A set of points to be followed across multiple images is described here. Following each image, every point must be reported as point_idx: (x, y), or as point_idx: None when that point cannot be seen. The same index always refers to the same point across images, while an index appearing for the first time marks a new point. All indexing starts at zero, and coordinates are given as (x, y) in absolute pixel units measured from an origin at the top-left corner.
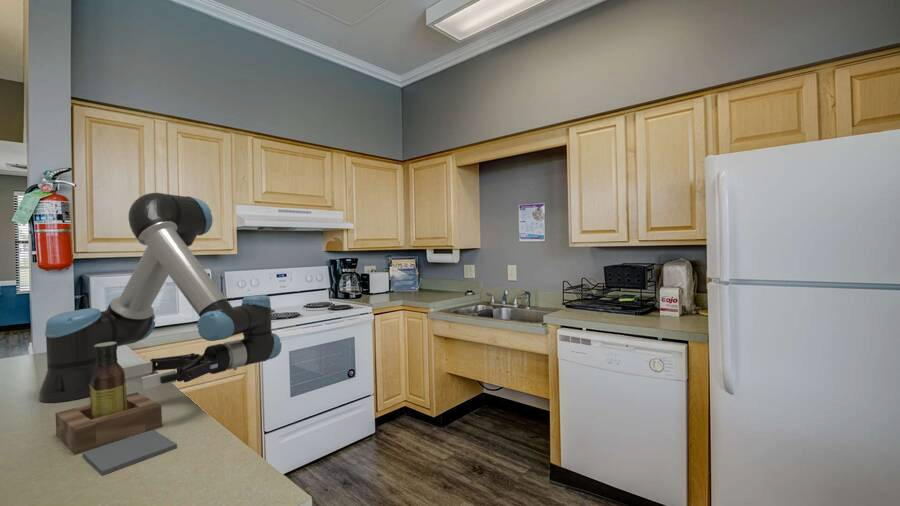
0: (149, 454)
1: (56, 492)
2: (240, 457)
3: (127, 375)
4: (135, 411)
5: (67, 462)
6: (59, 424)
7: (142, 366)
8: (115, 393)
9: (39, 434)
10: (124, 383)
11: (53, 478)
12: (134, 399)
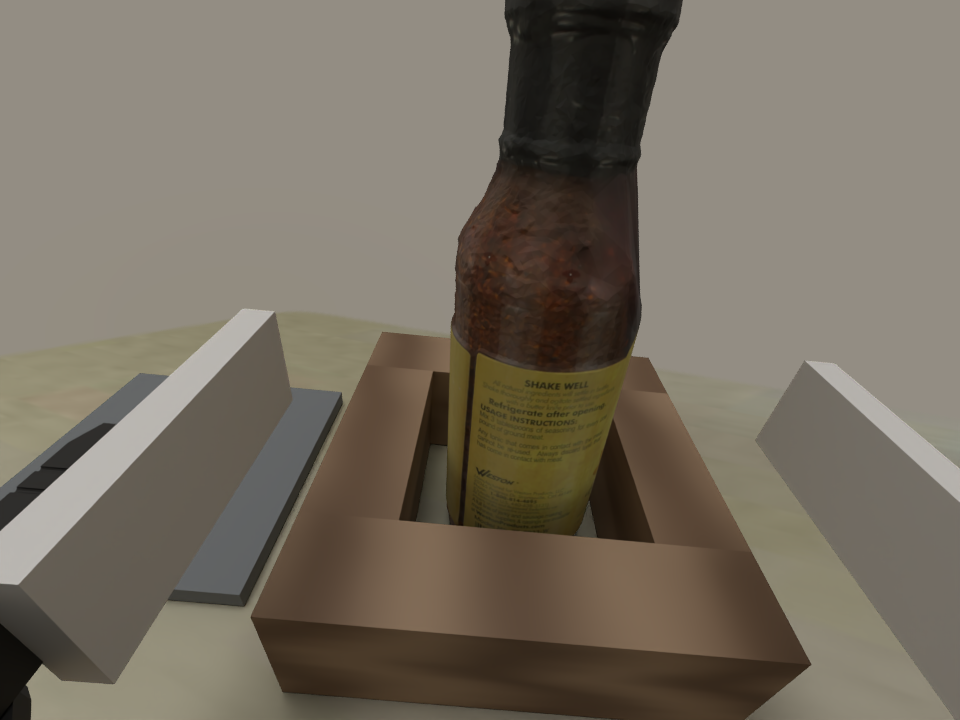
0: (27, 467)
1: (204, 334)
2: None
3: (791, 459)
4: (328, 475)
5: (349, 380)
6: None
7: (948, 543)
8: (450, 358)
9: (677, 410)
10: (482, 357)
11: (286, 348)
12: (595, 568)
